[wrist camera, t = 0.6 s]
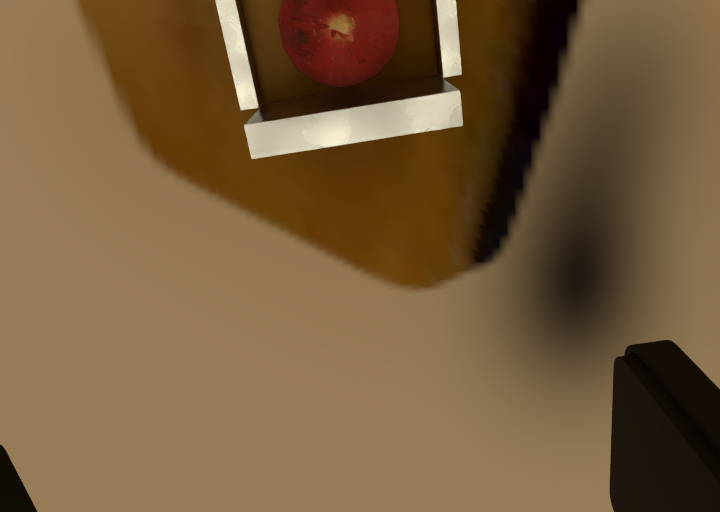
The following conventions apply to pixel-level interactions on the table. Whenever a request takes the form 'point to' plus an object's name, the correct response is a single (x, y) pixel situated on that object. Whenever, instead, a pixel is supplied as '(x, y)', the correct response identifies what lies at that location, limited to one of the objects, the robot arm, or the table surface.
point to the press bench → (345, 97)
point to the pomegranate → (339, 38)
